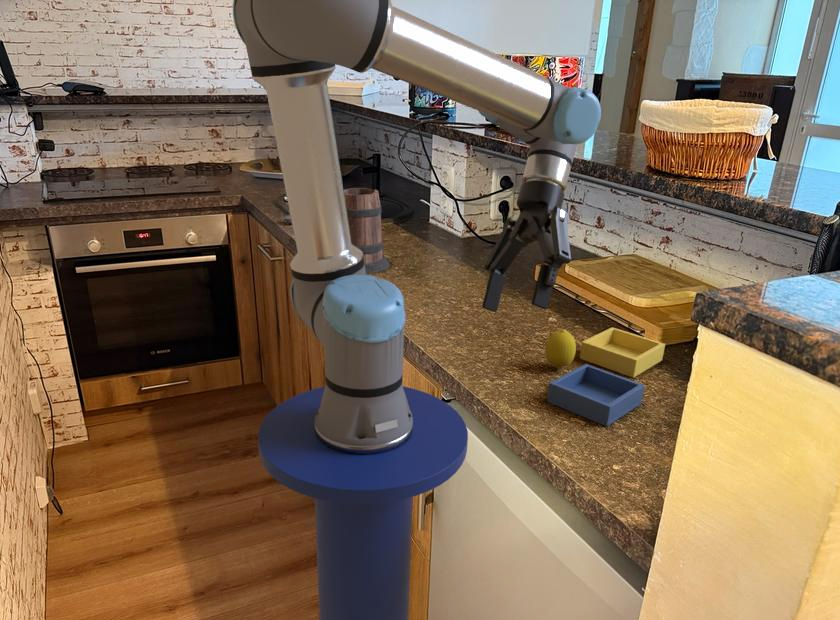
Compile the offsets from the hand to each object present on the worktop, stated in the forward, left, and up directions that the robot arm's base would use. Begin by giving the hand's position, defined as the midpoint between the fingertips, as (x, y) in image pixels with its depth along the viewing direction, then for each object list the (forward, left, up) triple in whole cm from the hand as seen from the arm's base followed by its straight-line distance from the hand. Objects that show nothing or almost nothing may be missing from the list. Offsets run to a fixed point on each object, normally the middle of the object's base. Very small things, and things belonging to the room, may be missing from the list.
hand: (512, 308), depth 112 cm
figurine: (-124, +45, -16) cm, 133 cm away
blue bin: (+12, +9, -16) cm, 22 cm away
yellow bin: (+6, +29, -16) cm, 34 cm away
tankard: (-78, +34, -16) cm, 86 cm away
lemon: (0, +16, -16) cm, 23 cm away
